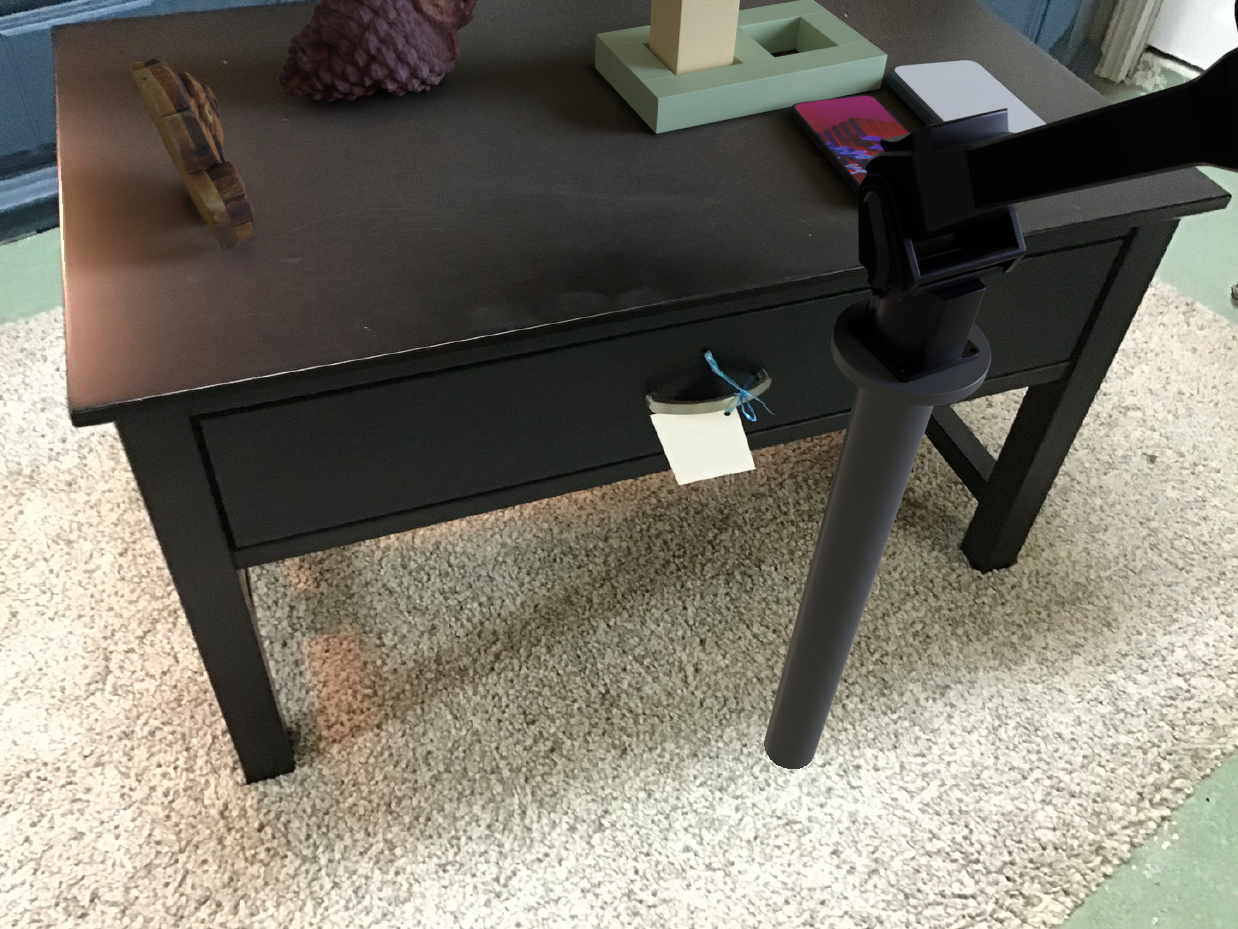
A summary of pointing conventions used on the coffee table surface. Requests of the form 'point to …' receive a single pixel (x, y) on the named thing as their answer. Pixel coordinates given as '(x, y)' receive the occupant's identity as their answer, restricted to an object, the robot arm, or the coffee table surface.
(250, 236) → the wooden carving
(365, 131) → the coffee table surface
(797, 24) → the block
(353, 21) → the pine cone
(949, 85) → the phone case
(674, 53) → the cream rectangular block
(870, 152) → the smartphone
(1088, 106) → the coffee table surface
